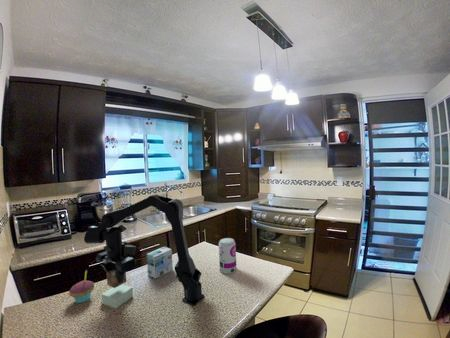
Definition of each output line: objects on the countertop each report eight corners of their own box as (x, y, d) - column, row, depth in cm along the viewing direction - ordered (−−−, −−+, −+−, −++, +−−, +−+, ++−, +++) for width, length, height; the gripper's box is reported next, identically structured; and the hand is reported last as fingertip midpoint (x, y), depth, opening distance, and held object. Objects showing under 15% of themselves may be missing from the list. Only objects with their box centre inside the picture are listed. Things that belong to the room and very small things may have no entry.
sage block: (133, 296, 89) (132, 287, 89) (116, 309, 82) (115, 298, 81) (119, 292, 92) (118, 283, 92) (101, 304, 85) (101, 294, 85)
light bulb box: (155, 279, 101) (154, 257, 100) (147, 275, 105) (145, 253, 104) (173, 269, 109) (172, 248, 109) (165, 266, 113) (164, 246, 113)
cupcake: (92, 290, 94) (90, 263, 93) (97, 299, 88) (95, 270, 87) (68, 300, 88) (66, 271, 87) (72, 309, 82) (69, 279, 81)
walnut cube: (126, 281, 87) (125, 269, 87) (114, 288, 83) (113, 275, 83) (119, 278, 90) (118, 266, 90) (107, 284, 86) (106, 272, 86)
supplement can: (239, 268, 107) (238, 239, 107) (231, 276, 100) (229, 244, 100) (225, 265, 112) (224, 236, 111) (216, 272, 105) (215, 242, 104)
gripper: (146, 239, 88) (148, 276, 88) (119, 233, 98) (121, 266, 98) (120, 249, 78) (123, 291, 79) (93, 241, 88) (96, 278, 89)
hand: (116, 280), depth 87 cm, fingers closed on walnut cube, 5 cm apart
